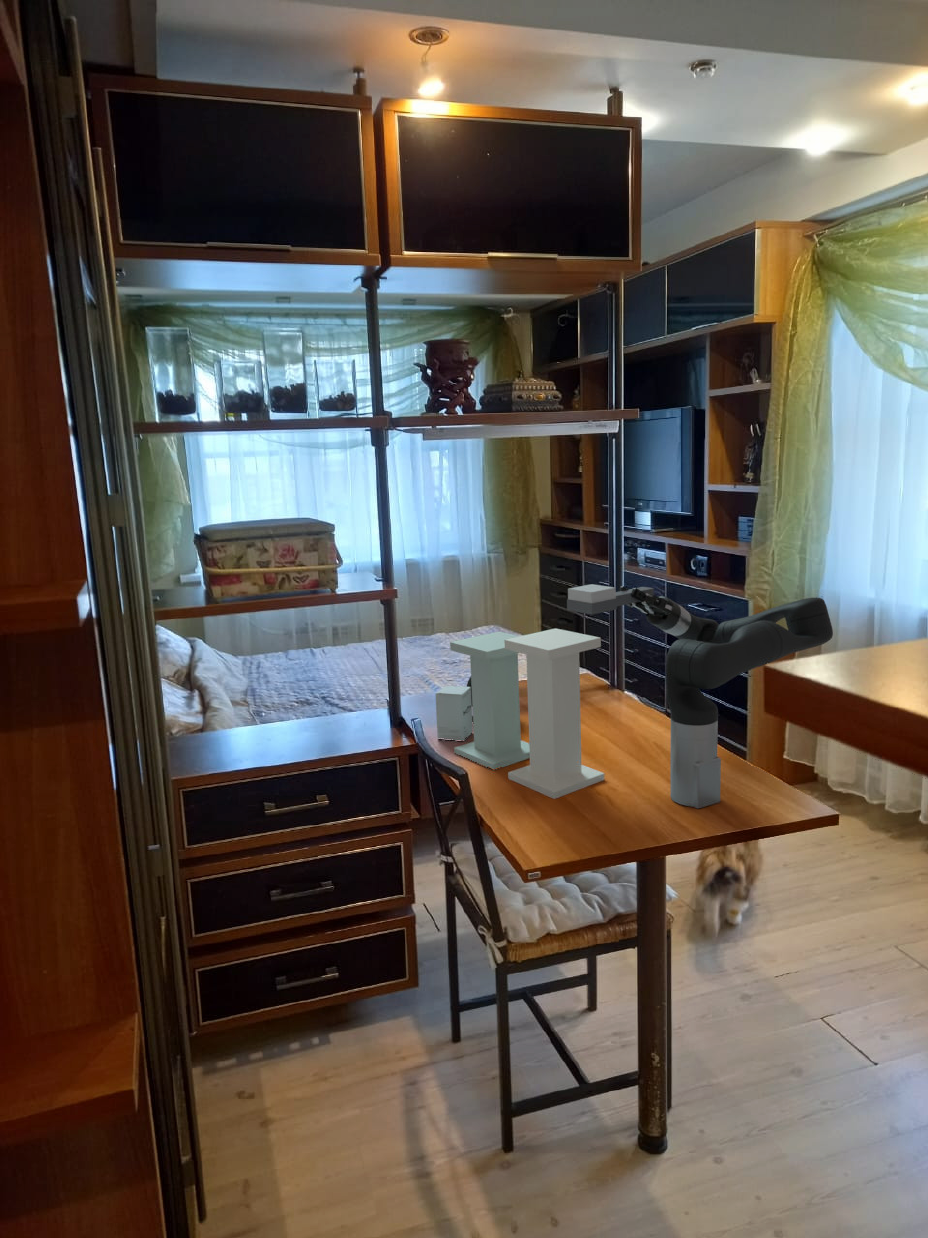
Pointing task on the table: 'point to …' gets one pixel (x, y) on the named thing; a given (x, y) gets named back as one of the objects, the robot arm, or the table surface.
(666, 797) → the table surface
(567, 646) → the tall pedestal
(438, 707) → the supplement box
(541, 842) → the table surface
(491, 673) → the low pedestal
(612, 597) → the block
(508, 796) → the table surface
